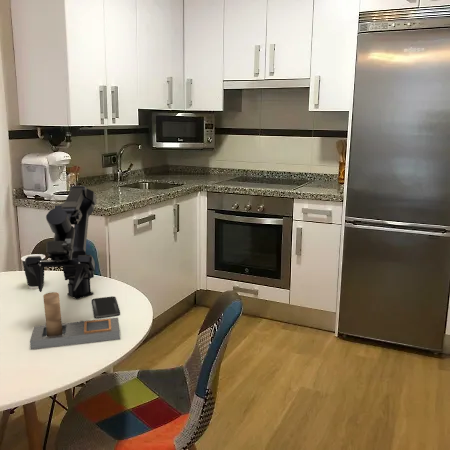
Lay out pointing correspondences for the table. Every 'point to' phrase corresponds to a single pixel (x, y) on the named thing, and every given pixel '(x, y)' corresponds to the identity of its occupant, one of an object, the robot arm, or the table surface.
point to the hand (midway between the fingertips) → (57, 290)
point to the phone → (105, 307)
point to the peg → (52, 314)
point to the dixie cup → (29, 276)
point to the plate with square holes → (77, 333)
